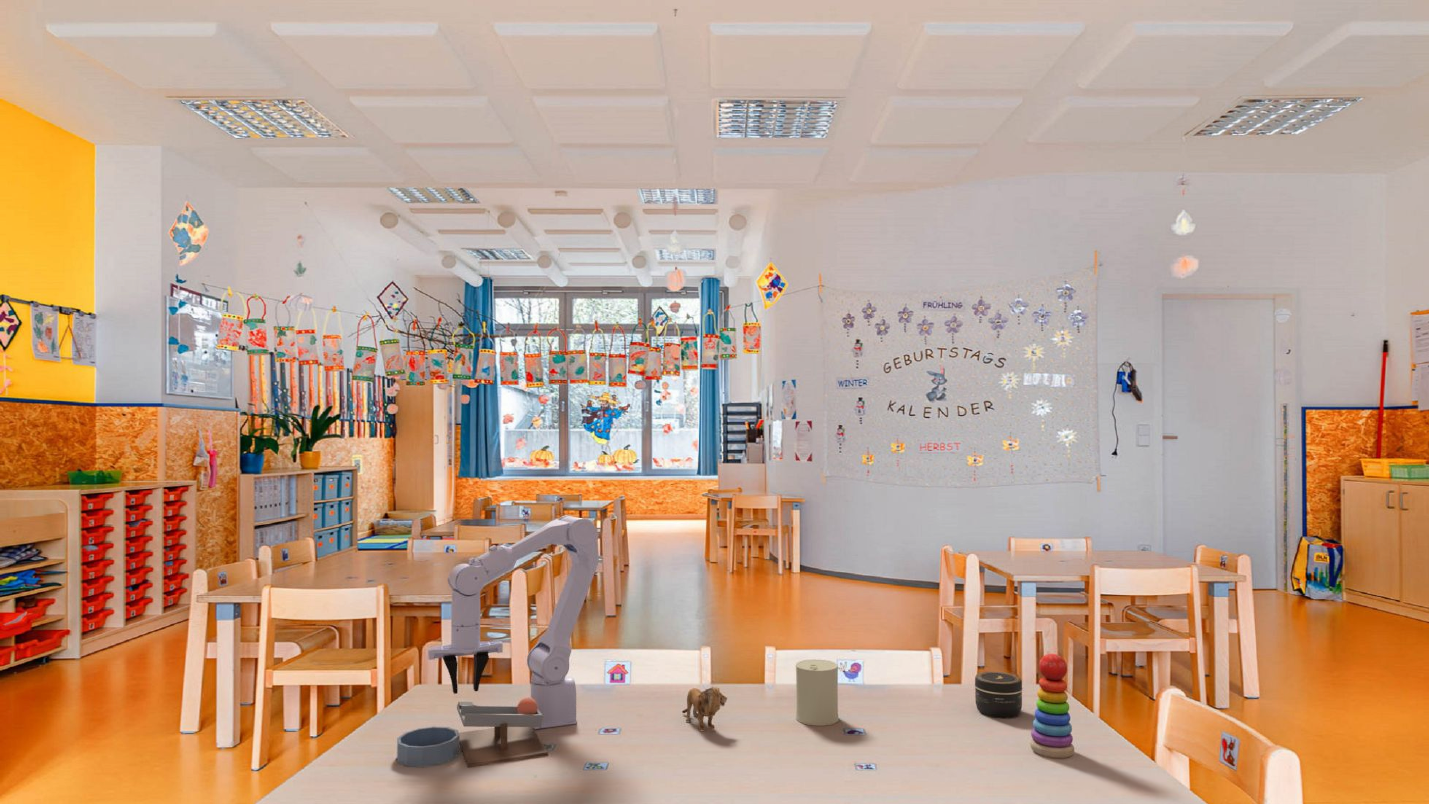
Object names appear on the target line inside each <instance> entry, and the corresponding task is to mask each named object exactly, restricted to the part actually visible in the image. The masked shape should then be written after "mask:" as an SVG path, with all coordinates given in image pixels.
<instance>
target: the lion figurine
mask: <svg viewBox="0 0 1429 804" xmlns="http://www.w3.org/2000/svg"><path fill="white" fill-rule="evenodd" d="M727 700H728V697H727V696H725V695H724V694H723V693H722V692H721V691H720V688H719V687H717V686H715V687H713V686H712V687H709V688H707V689H705V690H703V691H701V690H700V689H699V688H694V687H693V688H691V689H689V690H688V693H687V696H686V708H685V709H684V710H682V711H681V712H682V714H686V719H685V722H686V721H691V722H692V719H691V711H692V715H694V716H693V717H698V731H699V730H704V731H705V730H706V729H705V724H704V718H705V717H706V718H707V724H706V725H707V727H708V728H709V727H714V728H715V725H714V724H713V723H712V721H713V718H714V716H715V715H716V713H717V712H718V711H720V709H721V707H725V703H727ZM692 706H693V708H692Z"/></svg>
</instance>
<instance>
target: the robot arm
mask: <svg viewBox="0 0 1429 804" xmlns="http://www.w3.org/2000/svg"><path fill="white" fill-rule="evenodd" d="M599 537H600V533H599V531H598V530H597V528H596V526H595V524H594V523H593V522H592V521H591V520H590V519H588V518H584V517H582V518H580V517H577V516H573V515H570V514H568V515H567V514H566V515H563V516H561V517H559V518H558V519H554V520H553V519H552V520H551V521H549V522H547V524H545V525H544V526H542V527H540V528H539V529H537V530H535V531H533V532H532V533H530V534H528V535H527V536H525V537H523V538H521V539H520V540H518V541H517V542H515V543H513V544H511V545H510V546H506V545H503V544H501V545H495V544H493V545H492V546H490V547H488V548H489V550H488V551H486V552H485V553H483V554H482V555H479V556H477V557H476V558H475V557H471V558H469V559H468V563H460V564H457V565H455V566H454V567H453V568H452V570H451V571H450V573H449V574H448V575H449V576H448V577H447V584H448V586H449V587H450V588H451V605H450V606H451V607H450V609H451V612H450V613H451V614H450V615H451V616H450V619H451V621H450V624H451V625H450V628H451V630H450V632H451V634H450V635H451V636H450V638H451V639H450V641H451V644H445V645H440V646H435V647H428V648H427V651H428V652H427V658H428V660H429V661H430V660H435V659H442V660H443V662H444V664H445V667H446V669H447V671H448V675H449V678H450V681H451V686H452V692H453V695H454V694H455V695H456V694H458V693H459V692H458V660H457V659H458V658H457V657H463V656H471V655H473V684H472V685H473V686H472V687H473V690H474V692H479V688H480V682H481V678H482V675H483V672H484V670H485V669H486V666H487V664H488V661H489V659H490V655H489V654H491V653H492V654H493V653H498V654H499V653H500V654H501V653H503V647H504V646H503V641H500V640H497V641H481V591H482V590H483V588H484V586H485V585H486V584H489V583H491V582H492V581H494V580H497V579H498V578H500V577H501V576H503V575H505V574H507V573H509V572H511V571H512V570H513V569H514V568H515V566H516V564H517V561H518V560H521V559H523V558H525V557H527V556H529V555H531V554H532V553H535V552H537V551H539V550H541V549H543V548H545V547H547V546H549V545H560V546H561V545H562V546H563V547H564V548H565V549H566V551H567V553H568V554H569V557H570V559H571V561H572V564H571V565H570V566H571V567H570V568H569V572H568V574H567V576H566V579H565V582H564V584H563V586H562V587H563V588H561V593H560V595H559V597H558V600H557V603H556V605H555V608H554V610H553V613H552V615H551V618H550V621H549V624H548V625H547V629H546V631H545V632H543V634H541V635H540V636H539V637H538V640H537V642H536V644H535V645H534V646H533V647H532V648H531V649H530V651H529V652H528V654H527V657H526V665H527V667H528V670H529V671H531V672H532V673H531V677H530V698H532V699H534V700H535V701H536V703H537V706H538V709H539V711H540V712H541V714H542V715H543V717H542V724H541V727H533V729H534V730H538V729H539V730H540V729H545V728H546V729H547V728H552V727H561V726H567V725H568V726H570V725H574V724H575V725H576V724H578V721H577V687H576V686H577V685H576V681H575V679H574V678H573V677H566V676H567V675H568V673H569V670H570V657H571V654H572V646H571V638H572V634H573V631H574V629H575V627H576V624H577V621H578V618H579V615H580V613H581V611H582V608H583V605H584V603H585V599H586V598H587V594H588V591H589V590H590V587H591V584H592V581H593V579H594V576H595V574H596V570H597V568H598V565H599V563H600V555H599V545H598V540H599Z"/></svg>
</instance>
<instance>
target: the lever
mask: <svg viewBox="0 0 1429 804" xmlns="http://www.w3.org/2000/svg"><path fill="white" fill-rule="evenodd" d="M517 706H518V705H487V704H486V705H483V704H480V705H478V704H477V705H475V704H474V702H473V701H458V702H457V705H456V710H457V713H458V716H459V718H460V720H461V722H462V725H463V727H464V728H465V727H466V728H469V727H471V728H473V727H474V728H475V727H477V728H478V727H479V728H481V727H485V728H488V727H489V728H490V727H491V728H494V727H501V724H505V723H507V727H541V724H542V717H543V715H542V714H541V712H540V711H539V709H538V708H537V712H536V714H518V711H517Z"/></svg>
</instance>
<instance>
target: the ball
mask: <svg viewBox="0 0 1429 804" xmlns="http://www.w3.org/2000/svg"><path fill="white" fill-rule="evenodd" d="M516 706H517V711H518V714H536V712H537V708H538V706H537V703H536V701H535V700H534V699H532V698H531V697H523V698H522V699H521V700H520V701H519V702H518V704H517V705H516Z"/></svg>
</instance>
